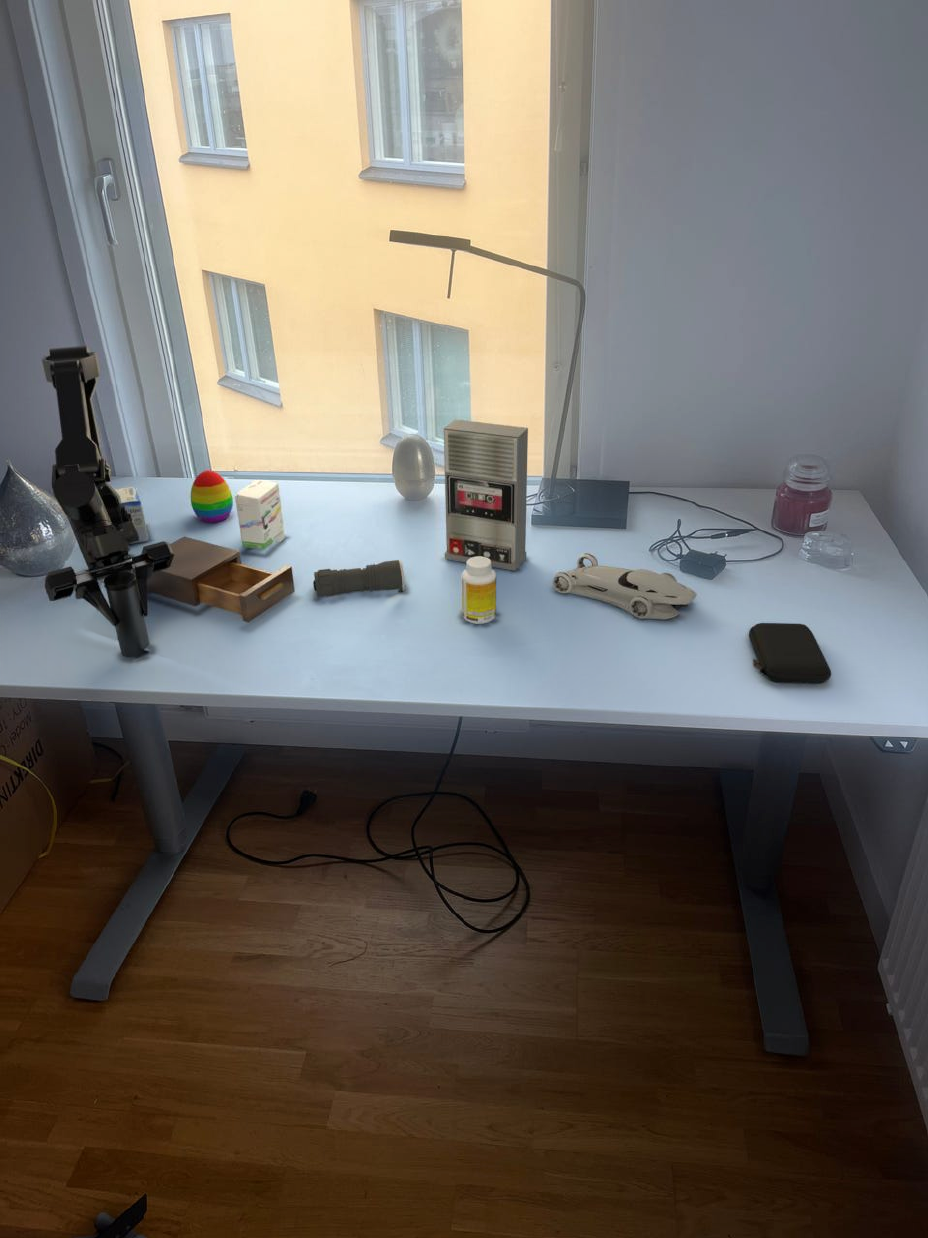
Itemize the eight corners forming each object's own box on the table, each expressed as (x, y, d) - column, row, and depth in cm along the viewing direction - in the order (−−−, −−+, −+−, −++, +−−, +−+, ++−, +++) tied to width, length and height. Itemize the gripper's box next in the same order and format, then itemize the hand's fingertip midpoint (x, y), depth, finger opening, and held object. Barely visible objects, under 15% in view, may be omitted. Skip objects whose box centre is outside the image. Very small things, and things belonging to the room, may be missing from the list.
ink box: (265, 556, 175) (257, 498, 169) (242, 553, 176) (233, 495, 170) (286, 537, 182) (279, 480, 176) (263, 534, 183) (256, 478, 177)
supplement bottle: (502, 620, 153) (502, 564, 148) (471, 628, 151) (471, 572, 146) (486, 605, 157) (486, 551, 152) (456, 613, 155) (455, 558, 150)
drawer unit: (141, 596, 162) (133, 562, 159) (190, 568, 171) (184, 536, 168) (197, 613, 157) (190, 579, 153) (244, 583, 166) (239, 550, 162)
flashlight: (316, 606, 158) (313, 578, 155) (313, 591, 163) (310, 564, 160) (405, 596, 161) (404, 568, 158) (401, 581, 165) (399, 554, 163)
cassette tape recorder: (444, 560, 172) (440, 429, 160) (457, 546, 177) (454, 418, 164) (515, 572, 168) (517, 439, 155) (526, 558, 173) (529, 427, 160)
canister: (116, 648, 146) (99, 577, 140) (145, 639, 149) (129, 568, 142) (126, 661, 143) (109, 588, 137) (155, 652, 145) (140, 580, 139)
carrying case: (738, 634, 148) (757, 687, 135) (741, 617, 147) (760, 669, 134) (807, 636, 147) (832, 689, 135) (810, 619, 146) (836, 671, 133)
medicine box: (121, 529, 186) (112, 489, 182) (144, 525, 188) (136, 485, 183) (125, 545, 180) (116, 503, 176) (149, 541, 181) (141, 499, 177)
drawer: (189, 609, 157) (183, 578, 154) (237, 579, 166) (232, 550, 163) (252, 629, 151) (247, 597, 148) (298, 597, 160) (295, 567, 157)
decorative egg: (229, 525, 187) (222, 478, 182) (189, 525, 187) (181, 478, 182) (238, 508, 194) (232, 463, 189) (199, 509, 194) (192, 463, 189)
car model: (578, 566, 170) (579, 541, 167) (705, 602, 157) (708, 575, 155) (546, 590, 162) (547, 564, 159) (678, 630, 149) (681, 603, 147)
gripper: (30, 523, 132) (70, 622, 130) (158, 492, 142) (198, 584, 139) (30, 553, 142) (67, 646, 140) (150, 522, 151) (187, 608, 149)
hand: (131, 620), depth 142 cm, fingers closed on canister, 4 cm apart
